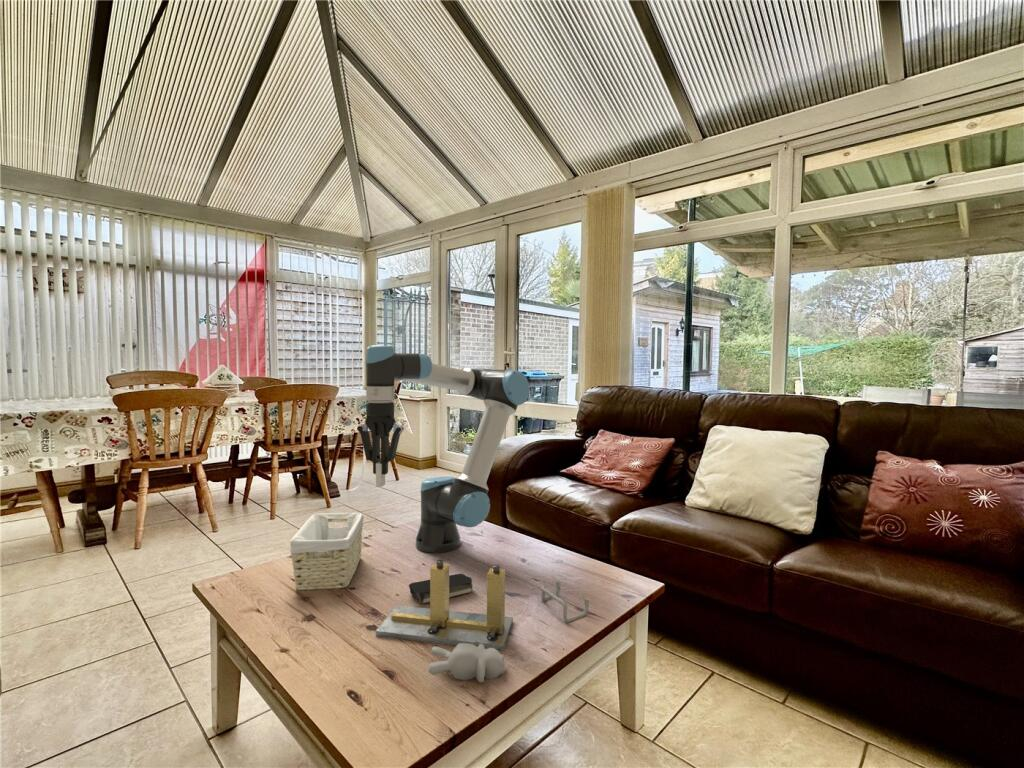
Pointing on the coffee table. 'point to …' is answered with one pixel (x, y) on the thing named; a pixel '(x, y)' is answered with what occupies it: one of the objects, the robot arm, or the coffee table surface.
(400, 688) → the coffee table surface
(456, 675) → the bunny figurine
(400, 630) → the steel plate
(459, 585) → the black sponge
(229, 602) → the coffee table surface
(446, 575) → the sliding leg
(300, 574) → the storage basket
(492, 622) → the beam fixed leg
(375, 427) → the robot arm
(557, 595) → the bracket
